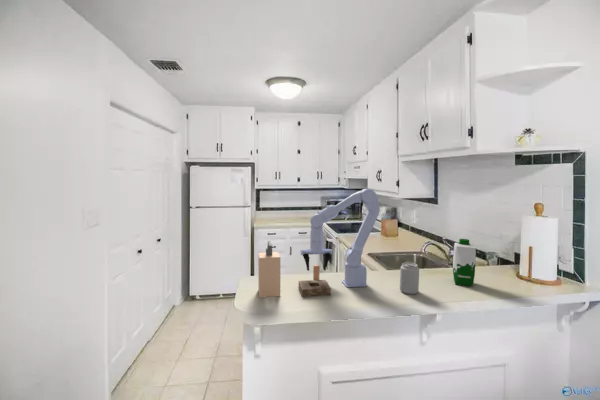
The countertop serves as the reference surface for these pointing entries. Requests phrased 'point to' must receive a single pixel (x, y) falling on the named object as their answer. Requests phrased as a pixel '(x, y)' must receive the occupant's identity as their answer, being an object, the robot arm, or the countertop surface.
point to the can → (409, 278)
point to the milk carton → (464, 263)
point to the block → (314, 288)
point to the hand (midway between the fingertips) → (316, 269)
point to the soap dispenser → (269, 273)
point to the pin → (316, 272)
